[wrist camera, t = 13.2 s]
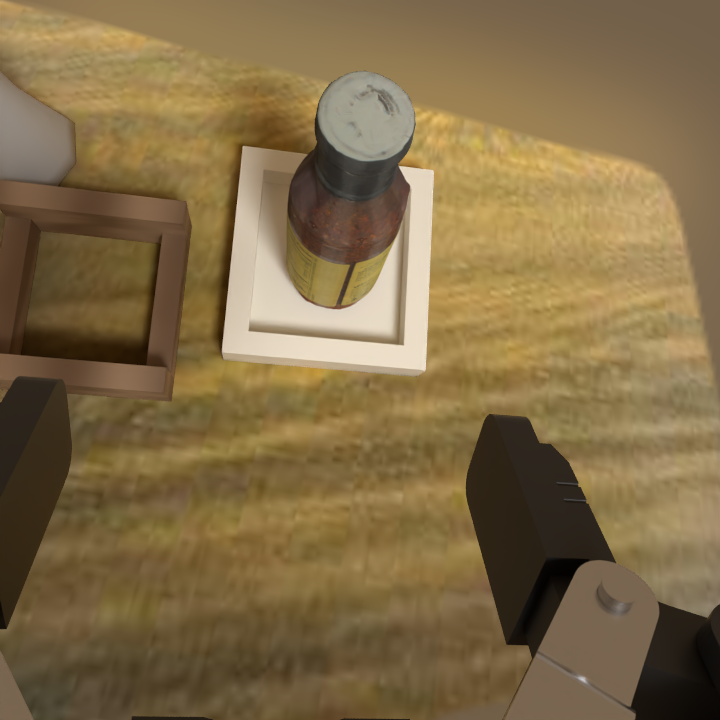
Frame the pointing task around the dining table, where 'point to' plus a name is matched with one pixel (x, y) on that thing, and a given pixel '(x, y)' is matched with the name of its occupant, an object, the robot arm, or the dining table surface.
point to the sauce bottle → (349, 190)
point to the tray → (305, 320)
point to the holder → (99, 219)
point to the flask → (33, 139)
